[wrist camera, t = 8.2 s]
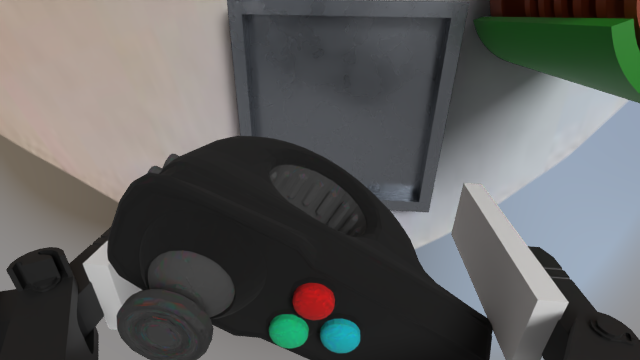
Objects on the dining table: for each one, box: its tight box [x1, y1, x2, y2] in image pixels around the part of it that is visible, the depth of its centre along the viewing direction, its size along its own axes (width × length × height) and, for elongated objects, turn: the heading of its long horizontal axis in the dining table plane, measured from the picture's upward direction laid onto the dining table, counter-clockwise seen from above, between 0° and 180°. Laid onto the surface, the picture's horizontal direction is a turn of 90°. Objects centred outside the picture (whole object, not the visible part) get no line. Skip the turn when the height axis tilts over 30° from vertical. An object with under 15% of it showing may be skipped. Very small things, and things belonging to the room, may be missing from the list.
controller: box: [107, 136, 493, 360], centre depth 12 cm, size 4×12×10 cm, turn 60°
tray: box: [227, 0, 469, 212], centre depth 28 cm, size 17×17×2 cm
